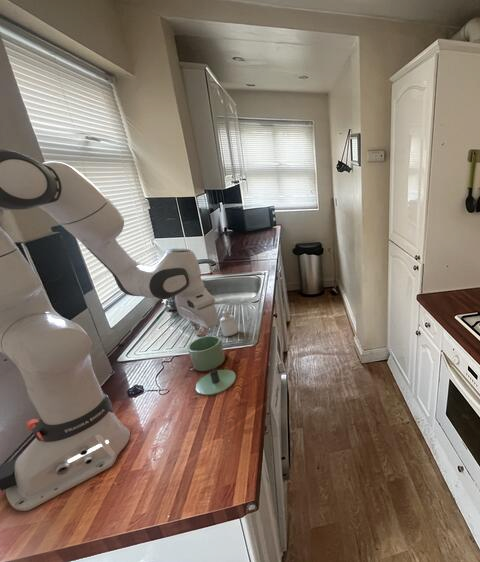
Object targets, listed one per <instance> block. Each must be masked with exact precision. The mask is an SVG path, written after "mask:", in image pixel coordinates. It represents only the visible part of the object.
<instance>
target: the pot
mask: <svg viewBox="0 0 480 562" xmlns="http://www.w3.org/2000/svg"><path fill="white" fill-rule="evenodd" d="M187 351H188V355H189V358H190V362H191V365H192V367H193V370H195V371H197V372H204V371H206V372H207V371H211V370H213V369H216V368H218V367H219V366H221V365H222V364H223V363H224V362H225V360H226V355H225V351H224V348H223V343H222V340H221V337H220V336H218V335H212V334H211V335H206V336H204V337H197V338H196V339H194V340H192V341H191V342H190V343H189V344H188V345H187Z"/></svg>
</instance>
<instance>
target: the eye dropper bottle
mask: <svg viewBox="0 0 480 562" xmlns="http://www.w3.org/2000/svg"><path fill="white" fill-rule="evenodd" d="M221 314H222V316H221V318H219V323H220V327H221V331H222V332H221V333H222V336H223V337H231V336H234V335H236V334H238V326H237V322H236V318H235V316H234V315H232V314H230V311H229V310H227V308H226V307H225V308H223V311H222V313H221Z"/></svg>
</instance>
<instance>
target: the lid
mask: <svg viewBox="0 0 480 562" xmlns="http://www.w3.org/2000/svg"><path fill="white" fill-rule="evenodd" d="M236 379H237V375H236V373H235V372H234V371H233V370H230V369H216V368H213V369H210V370H209V373H207V374H204V375H203V376H202V377H201V378H200V379H199V380H198V381H197V382H196V384H195V392H196V393H197V394H198V395H201V396H215V395H218V394H220V393H222V392H224V391H226V390H228V389H229V388H230V387H232V386H233V385H234V383H235V381H236Z"/></svg>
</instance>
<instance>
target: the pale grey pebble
mask: <svg viewBox="0 0 480 562" xmlns="http://www.w3.org/2000/svg"><path fill="white" fill-rule="evenodd" d="M201 330H202V328H199V329H197V330H195V335H196V337H197V338H201V337H204V336H209V334H207V335H204V334H202V331H201ZM209 333H210V330H209Z"/></svg>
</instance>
